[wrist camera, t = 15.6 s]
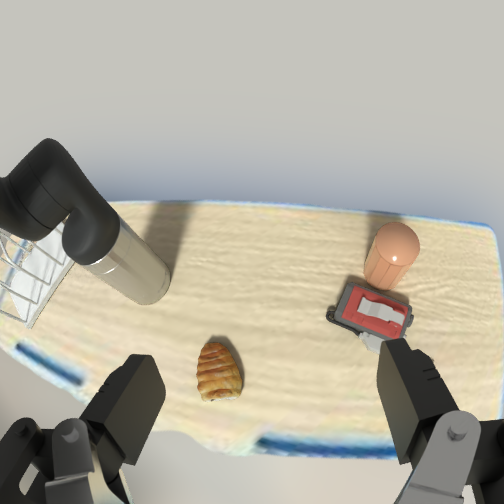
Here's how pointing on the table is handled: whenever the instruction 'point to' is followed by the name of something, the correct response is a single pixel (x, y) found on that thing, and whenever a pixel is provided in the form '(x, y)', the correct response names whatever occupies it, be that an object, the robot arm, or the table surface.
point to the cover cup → (391, 255)
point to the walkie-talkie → (372, 316)
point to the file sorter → (37, 275)
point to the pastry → (217, 374)
